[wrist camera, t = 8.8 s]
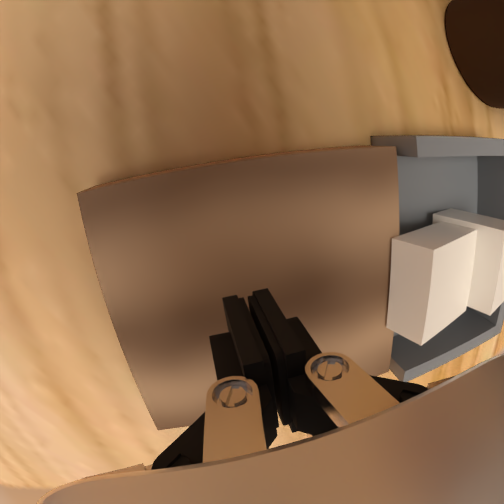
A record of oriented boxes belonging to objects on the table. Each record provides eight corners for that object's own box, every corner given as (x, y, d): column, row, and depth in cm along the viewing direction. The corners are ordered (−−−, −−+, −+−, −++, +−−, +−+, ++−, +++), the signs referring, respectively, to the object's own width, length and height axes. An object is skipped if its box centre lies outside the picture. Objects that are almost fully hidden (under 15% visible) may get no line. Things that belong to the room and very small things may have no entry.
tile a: (392, 238, 15) (433, 250, 12) (441, 221, 17) (477, 229, 14) (386, 327, 16) (420, 345, 14) (434, 297, 18) (466, 310, 16)
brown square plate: (96, 185, 14) (76, 193, 11) (364, 145, 16) (396, 146, 13) (158, 396, 18) (157, 430, 15) (366, 346, 20) (388, 371, 18)
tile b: (504, 231, 13) (516, 223, 14) (432, 213, 17) (451, 208, 18) (489, 315, 14) (504, 300, 15) (426, 289, 19) (445, 278, 20)
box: (370, 136, 16) (416, 135, 12) (478, 137, 18) (521, 140, 14) (372, 350, 21) (402, 383, 17) (468, 311, 22) (500, 332, 18)
